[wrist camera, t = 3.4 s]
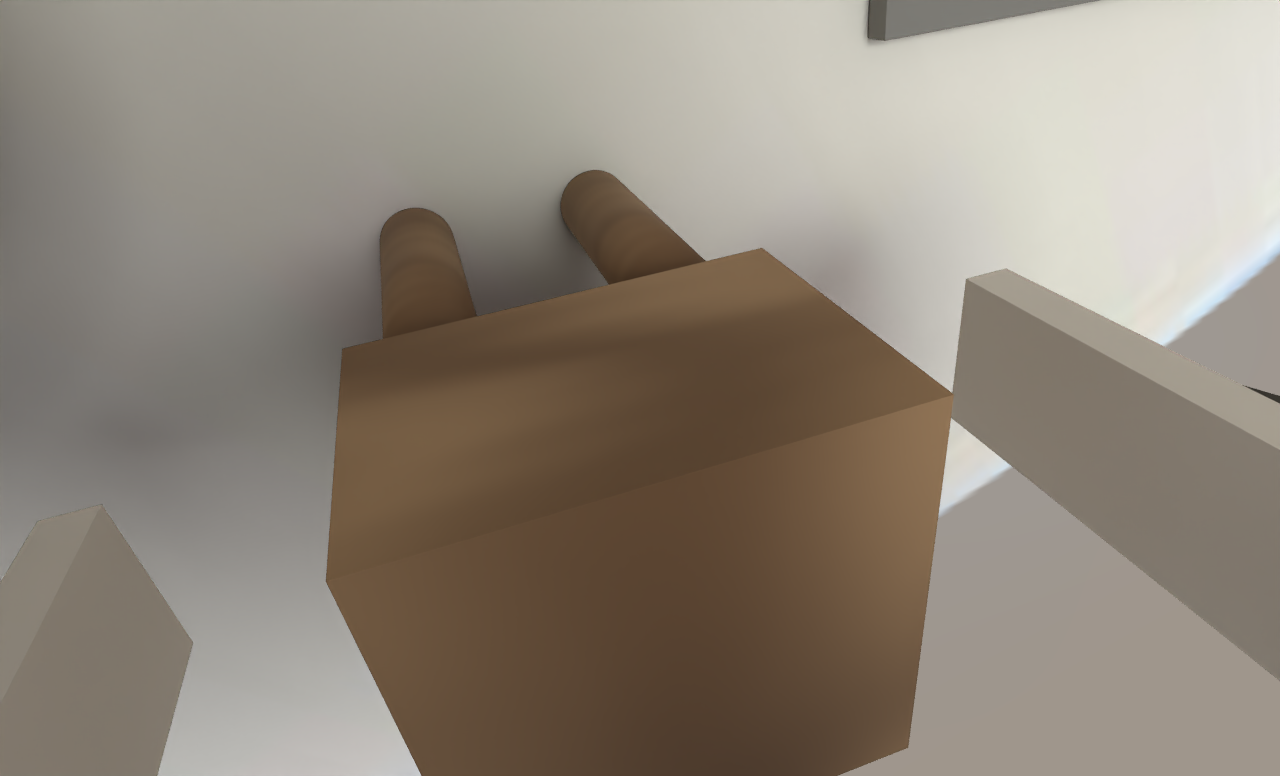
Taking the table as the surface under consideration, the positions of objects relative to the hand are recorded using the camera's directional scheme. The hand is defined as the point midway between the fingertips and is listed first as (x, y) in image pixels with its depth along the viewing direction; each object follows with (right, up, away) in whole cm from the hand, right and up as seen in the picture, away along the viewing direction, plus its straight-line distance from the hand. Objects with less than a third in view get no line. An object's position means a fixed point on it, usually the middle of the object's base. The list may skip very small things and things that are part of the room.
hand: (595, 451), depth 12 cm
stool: (-2, +3, +4) cm, 5 cm away
